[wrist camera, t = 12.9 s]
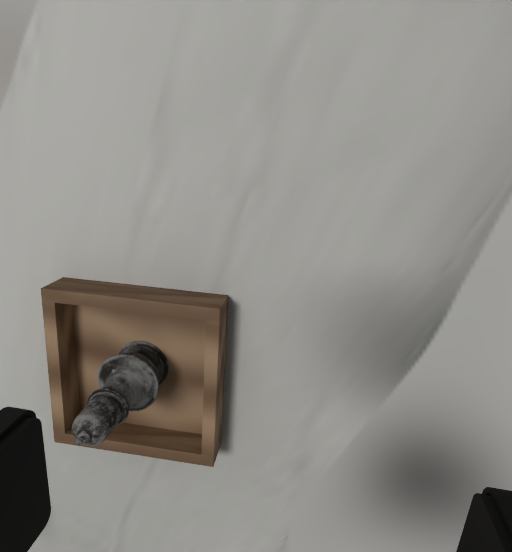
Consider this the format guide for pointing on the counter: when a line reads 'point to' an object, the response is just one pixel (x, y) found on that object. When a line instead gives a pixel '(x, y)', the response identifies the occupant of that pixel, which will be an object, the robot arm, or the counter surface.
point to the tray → (151, 328)
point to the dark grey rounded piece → (121, 391)
